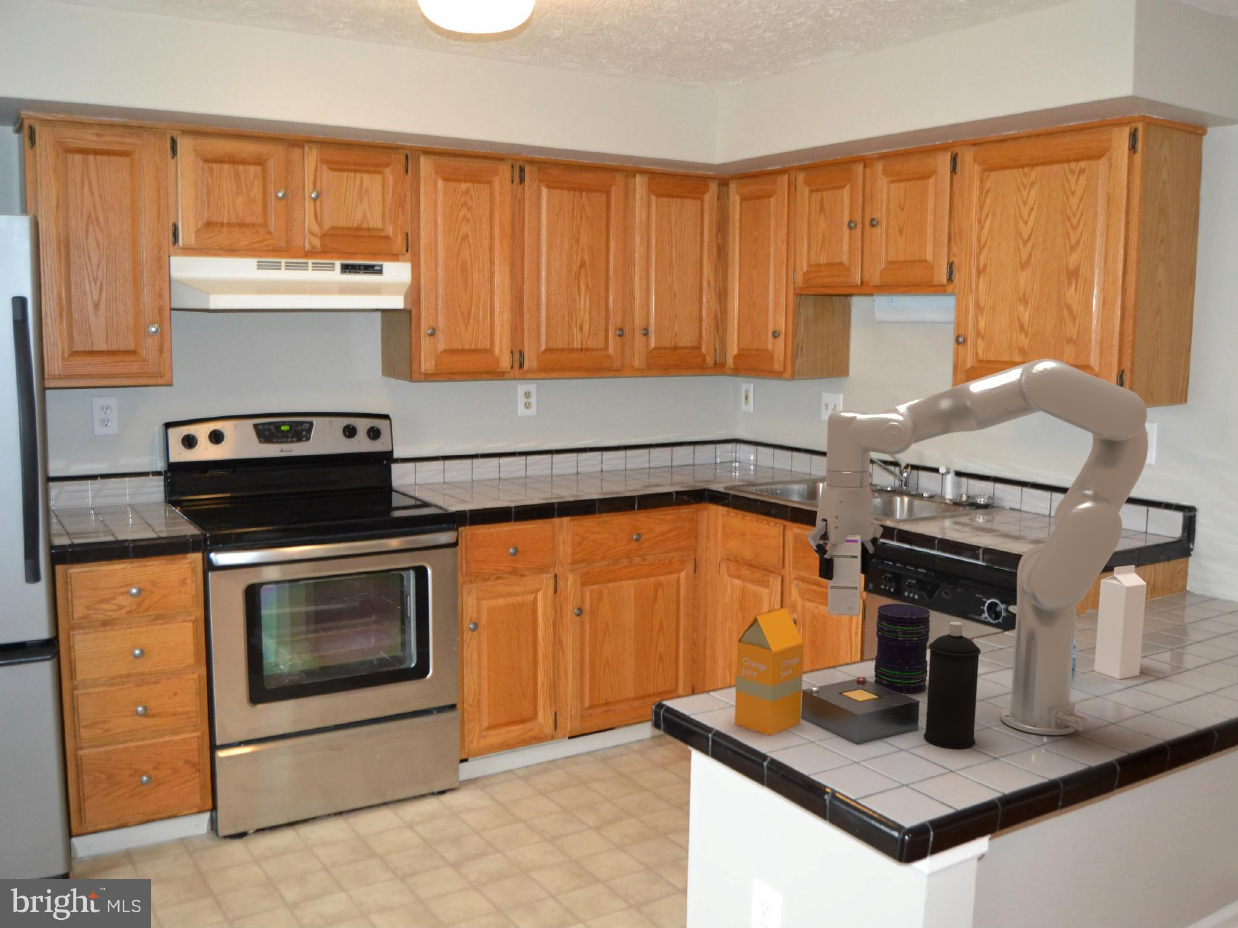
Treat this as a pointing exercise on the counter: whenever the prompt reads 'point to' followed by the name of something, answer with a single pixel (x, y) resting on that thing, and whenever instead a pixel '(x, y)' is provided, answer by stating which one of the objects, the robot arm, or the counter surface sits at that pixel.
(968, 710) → the aerosol can
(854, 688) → the breaker box
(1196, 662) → the counter surface
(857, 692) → the button
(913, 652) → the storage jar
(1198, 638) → the counter surface
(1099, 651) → the milk
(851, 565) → the syrup box
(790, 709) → the orange juice
